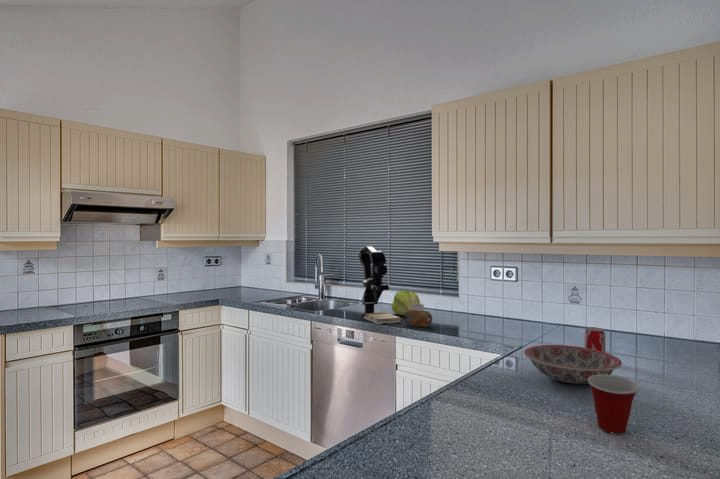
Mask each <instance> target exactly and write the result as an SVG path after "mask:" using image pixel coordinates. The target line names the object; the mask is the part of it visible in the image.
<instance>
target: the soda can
mask: <svg viewBox="0 0 720 479" xmlns="http://www.w3.org/2000/svg"><path fill="white" fill-rule="evenodd" d="M584 348H588V349H593V350H598V351H602V352H605V353H606V333H605V331H604V328H601V327H593V326H590V327H586V330H585V331H584Z"/></svg>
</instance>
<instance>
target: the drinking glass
mask: <svg viewBox="0 0 720 479" xmlns="http://www.w3.org/2000/svg"><path fill="white" fill-rule="evenodd" d="M424 307H425V304H424V303H420V304H412V310H419V311H425V308H424Z"/></svg>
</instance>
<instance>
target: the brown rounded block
mask: <svg viewBox="0 0 720 479" xmlns="http://www.w3.org/2000/svg"><path fill="white" fill-rule="evenodd" d="M403 316H404V317H403V318H404V319H403V320H404V322H405V323H406V325H407V326H409V325H410V327H418V326H419V327H421V328H426V327H429V326H431V324H432V322H433V317H432V314H431V312H429V311H427V310H424V311H419V310H409V311H407V312H406V313H405V315H403Z"/></svg>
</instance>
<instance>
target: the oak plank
mask: <svg viewBox="0 0 720 479" xmlns="http://www.w3.org/2000/svg"><path fill="white" fill-rule="evenodd" d="M368 318H370V319H373V320H375V321H377V322H385V321H396V320H401V317H400V316H397V315H394V314H391V313H389V312H386V314H374V315H368Z"/></svg>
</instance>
